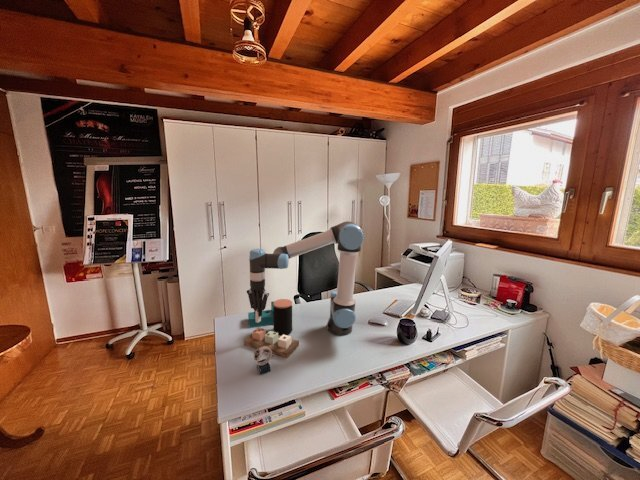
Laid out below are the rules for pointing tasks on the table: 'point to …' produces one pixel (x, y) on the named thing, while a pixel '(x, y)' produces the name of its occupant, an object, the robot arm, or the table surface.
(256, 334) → the die
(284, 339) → the die
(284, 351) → the wooden dice tray
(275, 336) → the die
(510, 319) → the table surface
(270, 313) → the teal l-shaped bracket
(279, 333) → the coffee jar
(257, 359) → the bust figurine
